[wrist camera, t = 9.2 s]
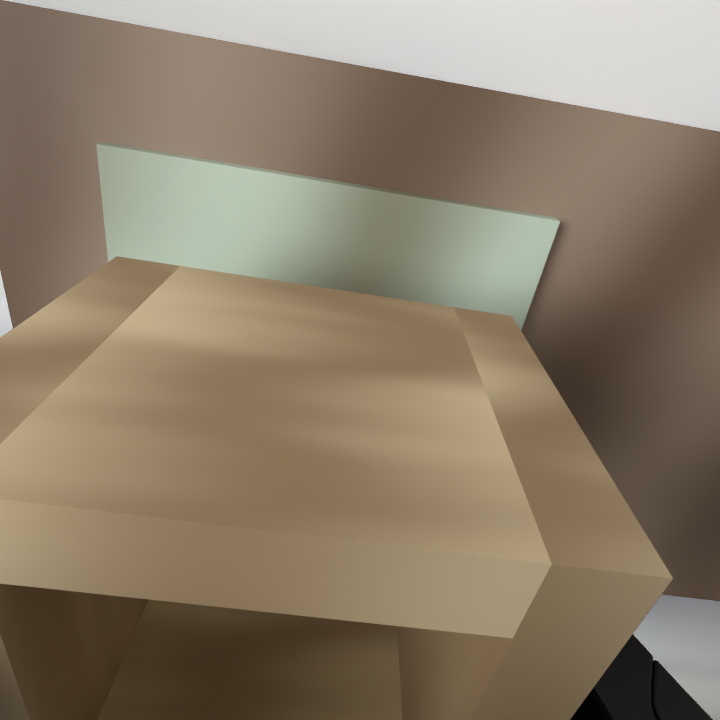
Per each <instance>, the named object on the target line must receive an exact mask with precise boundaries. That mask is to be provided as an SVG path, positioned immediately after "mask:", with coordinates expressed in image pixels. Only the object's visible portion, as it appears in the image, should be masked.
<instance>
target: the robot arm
mask: <svg viewBox="0 0 720 720" xmlns="http://www.w3.org/2000/svg"><path fill="white" fill-rule="evenodd" d="M570 720H713V719H712V718H711V717H710V716H709V715H708V714H707V713H706V712H705V711H704V710H703V709H702V708H701V707H700V706H699V705H698V704H697V703H696V702H695V701H694V699H693V698H692V697H691V696H690V695H689V694H688V693H687V692H686V691H685V690H684V689H683V688H682V687H681V686H680V685H679V684H678V683H677V682H676V680H675V679H674V678H673V677H672V676H671V675H670V674H669V673H668V672H667V671H666V670H665V669H664V667H663V666H662V665H661V664H660V663H659V662H658V661H656V660H654V661H653V656H652V655H651V654H650V652H649V651H648V650H647V649H646V648H645V647H644V646H643V645H642V644H641V643H640V642H639V641H638V639H637V638H636V637H635V636H634V635H633V634H632V635H631V637H630V638H629V640H628V641H627V642H626V644H625V645H624V646H623V648H622V649H621V650H620V652H619V653H618V655H617V656H616V657H615V659H614V660H613V661H612V663H611V664H610V666H609V667H608V668H607V670H606V671H605V672H604V674H603V675H602V677H601V678H600V679H599V681H598V682H597V683H596V685H595V686H594V687H593V689H592V690H591V692H590V693H589V694H588V696H587V697H586V698H585V700H584V701H583V703H582V704H581V705H580V707H579V708H578V709H577V711H576V712H575V713H574V715H573V716H572V718H571V719H570Z"/></svg>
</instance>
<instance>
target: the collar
mask: <svg viewBox="0 0 720 720" xmlns="http://www.w3.org/2000/svg"><path fill="white" fill-rule="evenodd" d="M672 579H673V577H672V576H671V574H670V572H669V571H668V569H667V568H666V566H665V564H664V563H663V561H662V559H661V558H660V556H659V555H658V553H657V551H656V550H655V548H654V546H653V545H652V543H651V542H650V540H649V538H648V537H647V535H646V533H645V532H644V530H643V529H642V527H641V525H640V524H639V522H638V520H637V519H636V517H635V516H634V514H633V512H632V511H631V509H630V507H629V506H628V504H627V503H626V501H625V499H624V498H623V496H622V494H621V493H620V491H619V489H618V488H617V486H616V485H615V483H614V481H613V480H612V478H611V476H610V475H609V473H608V472H607V470H606V468H605V467H604V465H603V463H602V462H601V460H600V459H599V457H598V455H597V454H596V452H595V450H594V449H593V447H592V446H591V444H590V442H589V441H588V439H587V437H586V436H585V434H584V433H583V431H582V429H581V428H580V426H579V424H578V423H577V421H576V420H575V418H574V416H573V415H572V413H571V411H570V410H569V408H568V407H567V405H566V403H565V402H564V400H563V398H562V397H561V395H560V394H559V392H558V390H557V389H556V387H555V385H554V384H553V382H552V380H551V379H550V377H549V376H548V374H547V372H546V371H545V369H544V367H543V366H542V364H541V363H540V361H539V359H538V358H537V356H536V354H535V353H534V351H533V350H532V348H531V346H530V345H529V343H528V341H527V340H526V338H525V337H524V335H523V333H522V332H521V330H520V328H519V327H518V325H517V324H516V322H515V320H514V319H513V317H512V316H509V315H502V314H495V313H489V312H482V311H475V310H469V309H462V308H456V307H449V306H442V305H436V304H429V303H423V302H416V301H409V300H403V299H396V298H390V297H383V296H376V295H370V294H363V293H357V292H350V291H343V290H337V289H330V288H324V287H317V286H310V285H304V284H297V283H290V282H284V281H277V280H271V279H264V278H257V277H251V276H244V275H238V274H231V273H224V272H218V271H211V270H205V269H198V268H191V267H185V266H178V265H172V264H165V263H158V262H152V261H145V260H138V259H132V258H125V257H119V256H116V257H115V258H114V259H112V260H111V261H109V262H108V263H106V264H105V265H104V266H102V267H101V268H99V269H98V270H96V271H95V272H94V273H92V274H91V275H89V276H88V277H86V278H85V279H84V280H82V281H81V282H79V283H78V284H76V285H75V286H74V287H72V288H71V289H69V290H68V291H66V292H65V293H64V294H62V295H61V296H59V297H58V298H56V299H55V300H54V301H52V302H51V303H49V304H48V305H46V306H45V307H44V308H42V309H41V310H39V311H38V312H36V313H35V314H34V315H32V316H31V317H29V318H28V319H26V320H25V321H24V322H22V323H21V324H19V325H18V326H16V327H15V328H14V329H12V330H11V331H9V332H8V333H6V334H5V335H4V336H2V337H1V338H0V720H570V719H571V718H572V716H573V715H574V713H575V712H576V711H577V709H578V708H579V707H580V705H581V704H582V703H583V701H584V700H585V698H586V697H587V696H588V694H589V693H590V692H591V690H592V689H593V687H594V686H595V685H596V683H597V682H598V681H599V679H600V678H601V677H602V675H603V674H604V672H605V671H606V670H607V668H608V667H609V666H610V664H611V663H612V661H613V660H614V659H615V657H616V656H617V655H618V653H619V652H620V650H621V649H622V648H623V646H624V645H625V644H626V642H627V641H628V640H629V638H630V637H631V635H632V634H633V633H634V631H635V630H636V629H637V627H638V626H639V624H640V623H641V622H642V620H643V619H644V618H645V616H646V615H647V613H648V612H649V611H650V609H651V608H652V607H653V605H654V604H655V603H656V601H657V600H658V598H659V597H660V596H661V594H662V593H663V592H664V590H665V589H666V587H667V586H668V585H669V583H670V582H671V581H672Z"/></svg>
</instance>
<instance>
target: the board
mask: <svg viewBox="0 0 720 720" xmlns="http://www.w3.org/2000/svg"><path fill="white" fill-rule="evenodd" d="M116 256H119V257H125V258H132V259H138V260H145V261H152V262H158V263H165V264H172V265H178V266H185V267H191V268H198V269H205V270H211V271H218V272H224V273H231V274H238V275H244V276H251V277H257V278H264V279H271V280H277V281H284V282H290V283H297V284H304V285H310V286H317V287H324V288H330V289H337V290H343V291H350V292H357V293H363V294H370V295H376V296H383V297H390V298H396V299H403V300H409V301H416V302H423V303H429V304H436V305H442V306H449V307H456V308H462V309H469V310H475V311H482V312H489V313H495V314H502V315H509V316H512V317H513V319H514V320H515V322H516V324H517V325H518V327H519V328H520V330H521V332H522V333H523V335H524V337H525V338H526V340H527V341H528V343H529V345H530V346H531V348H532V350H533V351H534V353H535V354H536V356H537V358H538V359H539V361H540V363H541V364H542V366H543V367H544V369H545V371H546V372H547V374H548V376H549V377H550V379H551V380H552V382H553V384H554V385H555V387H556V389H557V390H558V392H559V394H560V395H561V397H562V398H563V400H564V402H565V403H566V405H567V407H568V408H569V410H570V411H571V413H572V415H573V416H574V418H575V420H576V421H577V423H578V424H579V426H580V428H581V429H582V431H583V433H584V434H585V436H586V437H587V439H588V441H589V442H590V444H591V446H592V447H593V449H594V450H595V452H596V454H597V455H598V457H599V459H600V460H601V462H602V463H603V465H604V467H605V468H606V470H607V472H608V473H609V475H610V476H611V478H612V480H613V481H614V483H615V485H616V486H617V488H618V489H619V491H620V493H621V494H622V496H623V498H624V499H625V501H626V503H627V504H628V506H629V507H630V509H631V511H632V512H633V514H634V516H635V517H636V519H637V520H638V522H639V524H640V525H641V527H642V529H643V530H644V532H645V533H646V535H647V537H648V538H649V540H650V542H651V543H652V545H653V546H654V548H655V550H656V551H657V553H658V555H659V556H660V558H661V559H662V561H663V563H664V564H665V566H666V568H667V569H668V571H669V572H670V574H671V576H672V577H673V579H672V581H671V582H670V583H669V585H668V586H667V587H666V589H665V590H664V592H663V593H662V594H663V595H672V596H681V597H689V598H698V599H706V600H715V601H720V132H718V131H712V130H707V129H701V128H696V127H690V126H685V125H679V124H674V123H669V122H663V121H658V120H652V119H647V118H641V117H636V116H630V115H625V114H620V113H614V112H609V111H603V110H598V109H592V108H587V107H581V106H576V105H570V104H565V103H560V102H554V101H549V100H543V99H538V98H532V97H527V96H521V95H516V94H510V93H505V92H500V91H494V90H489V89H483V88H478V87H472V86H467V85H461V84H456V83H451V82H445V81H440V80H434V79H429V78H423V77H418V76H412V75H407V74H401V73H396V72H391V71H385V70H380V69H374V68H369V67H363V66H358V65H352V64H347V63H341V62H336V61H331V60H325V59H320V58H314V57H309V56H303V55H298V54H292V53H287V52H282V51H276V50H271V49H265V48H260V47H254V46H249V45H243V44H238V43H232V42H227V41H222V40H216V39H211V38H205V37H200V36H194V35H189V34H183V33H178V32H172V31H167V30H162V29H156V28H151V27H145V26H140V25H134V24H129V23H123V22H118V21H113V20H107V19H102V18H96V17H91V16H85V15H80V14H74V13H69V12H63V11H58V10H53V9H47V8H42V7H36V6H31V5H25V4H20V3H14V2H9V1H3V0H0V270H1V275H2V280H3V284H4V289H5V293H6V298H7V303H8V307H9V312H10V317H11V321H12V326H13V329H14V328H15V327H16V326H18V325H19V324H21V323H22V322H24V321H25V320H26V319H28V318H29V317H31V316H32V315H34V314H35V313H36V312H38V311H39V310H41V309H42V308H44V307H45V306H46V305H48V304H49V303H51V302H52V301H54V300H55V299H56V298H58V297H59V296H61V295H62V294H64V293H65V292H66V291H68V290H69V289H71V288H72V287H74V286H75V285H76V284H78V283H79V282H81V281H82V280H84V279H85V278H86V277H88V276H89V275H91V274H92V273H94V272H95V271H96V270H98V269H99V268H101V267H102V266H104V265H105V264H106V263H108V262H109V261H111V260H112V259H114V258H115V257H116Z"/></svg>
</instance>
